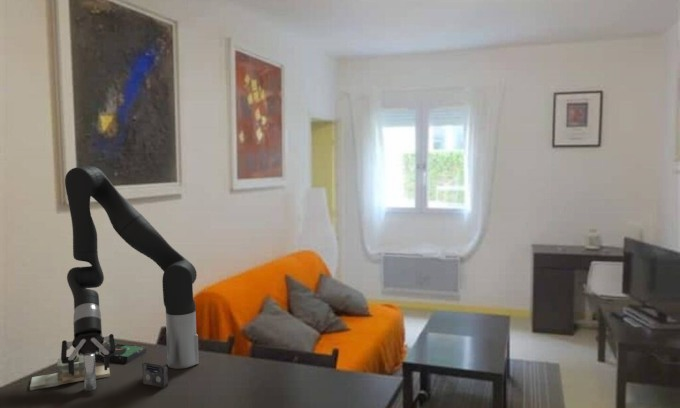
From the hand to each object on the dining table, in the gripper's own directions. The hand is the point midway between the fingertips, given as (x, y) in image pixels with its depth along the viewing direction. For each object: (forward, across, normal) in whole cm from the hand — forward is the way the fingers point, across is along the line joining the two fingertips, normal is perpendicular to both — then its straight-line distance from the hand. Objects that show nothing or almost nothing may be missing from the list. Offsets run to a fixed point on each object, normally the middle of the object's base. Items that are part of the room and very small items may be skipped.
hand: (89, 371), depth 146 cm
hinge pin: (+3, 0, +5) cm, 5 cm away
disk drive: (-14, +9, +23) cm, 28 cm away
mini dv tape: (+7, +17, 0) cm, 19 cm away
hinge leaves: (-5, -5, +12) cm, 14 cm away
